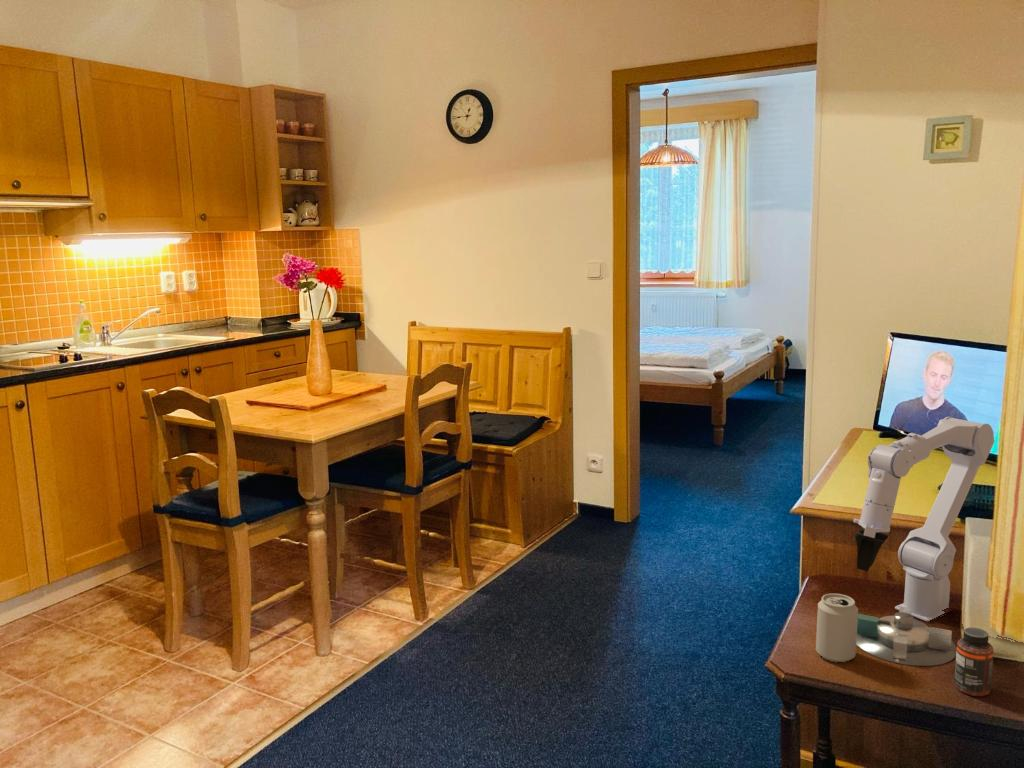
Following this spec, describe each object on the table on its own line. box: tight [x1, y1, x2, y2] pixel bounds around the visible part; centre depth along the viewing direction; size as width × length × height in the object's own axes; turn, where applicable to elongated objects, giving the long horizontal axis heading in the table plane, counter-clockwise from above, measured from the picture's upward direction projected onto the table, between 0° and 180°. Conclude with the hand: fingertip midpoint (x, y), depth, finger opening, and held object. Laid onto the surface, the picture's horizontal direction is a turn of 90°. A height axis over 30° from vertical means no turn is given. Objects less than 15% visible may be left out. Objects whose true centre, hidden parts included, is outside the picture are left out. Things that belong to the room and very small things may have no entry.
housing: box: [856, 611, 957, 667], centre depth 174 cm, size 20×20×6 cm
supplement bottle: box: [954, 626, 995, 697], centre depth 155 cm, size 6×6×11 cm
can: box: [815, 593, 859, 663], centre depth 168 cm, size 8×8×12 cm
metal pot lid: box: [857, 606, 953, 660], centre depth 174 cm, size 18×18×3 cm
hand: (864, 567), depth 175 cm, fingers open, 7 cm apart
